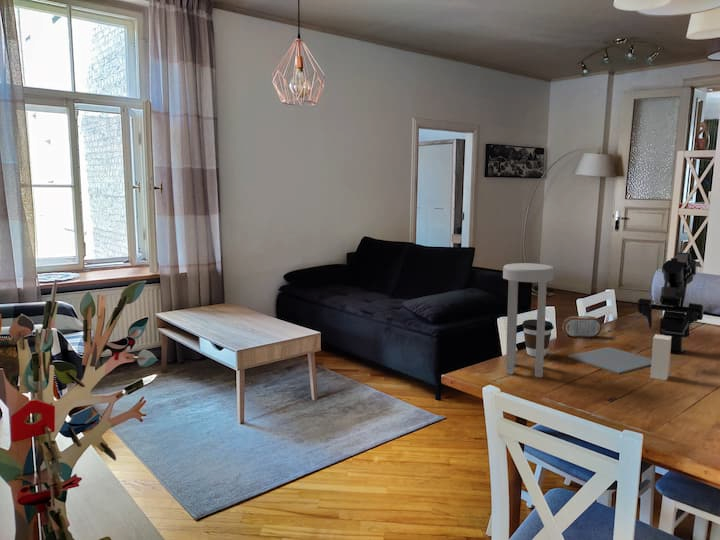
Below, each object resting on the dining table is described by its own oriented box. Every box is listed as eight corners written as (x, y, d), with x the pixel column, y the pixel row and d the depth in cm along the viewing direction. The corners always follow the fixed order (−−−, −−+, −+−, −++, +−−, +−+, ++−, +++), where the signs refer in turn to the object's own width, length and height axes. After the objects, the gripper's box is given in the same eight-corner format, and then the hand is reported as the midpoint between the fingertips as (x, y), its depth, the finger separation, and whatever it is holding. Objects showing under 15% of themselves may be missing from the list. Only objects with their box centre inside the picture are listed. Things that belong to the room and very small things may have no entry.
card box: (652, 373, 171) (655, 334, 169) (668, 375, 168) (671, 336, 166) (650, 377, 167) (653, 337, 165) (666, 380, 164) (669, 340, 162)
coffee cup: (553, 352, 194) (555, 320, 192) (550, 361, 184) (552, 327, 182) (523, 348, 198) (524, 317, 197) (518, 357, 189) (519, 324, 187)
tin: (599, 336, 215) (600, 315, 214) (602, 338, 212) (603, 317, 211) (561, 335, 216) (562, 315, 215) (563, 337, 213) (564, 317, 212)
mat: (608, 348, 198) (608, 346, 198) (659, 362, 180) (660, 361, 180) (567, 357, 187) (567, 355, 187) (618, 374, 170) (618, 372, 170)
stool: (498, 375, 170) (501, 268, 165) (503, 360, 185) (505, 262, 180) (549, 380, 165) (553, 270, 160) (549, 365, 179) (554, 263, 174)
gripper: (640, 274, 179) (632, 312, 172) (705, 279, 168) (699, 320, 161) (642, 293, 186) (634, 330, 179) (705, 299, 175) (699, 339, 168)
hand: (665, 330), depth 172 cm, fingers open, 9 cm apart
